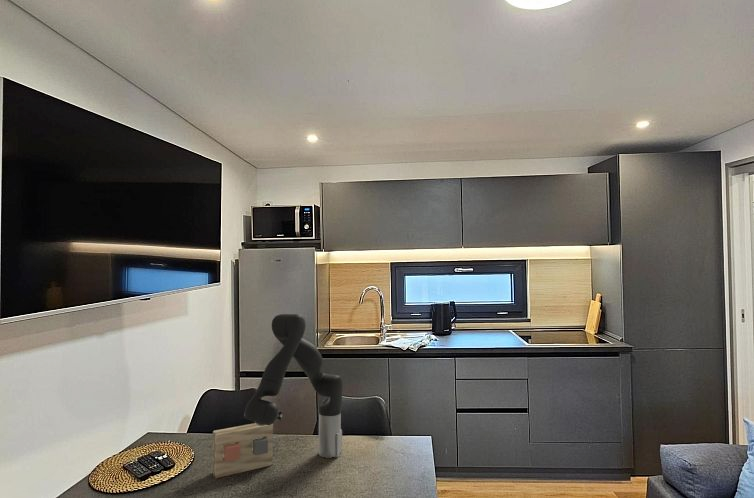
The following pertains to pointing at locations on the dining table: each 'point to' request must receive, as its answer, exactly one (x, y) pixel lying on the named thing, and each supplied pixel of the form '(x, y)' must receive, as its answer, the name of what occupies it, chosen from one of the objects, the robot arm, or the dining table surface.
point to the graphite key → (260, 446)
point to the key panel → (241, 449)
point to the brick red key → (231, 452)
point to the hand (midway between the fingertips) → (263, 416)
